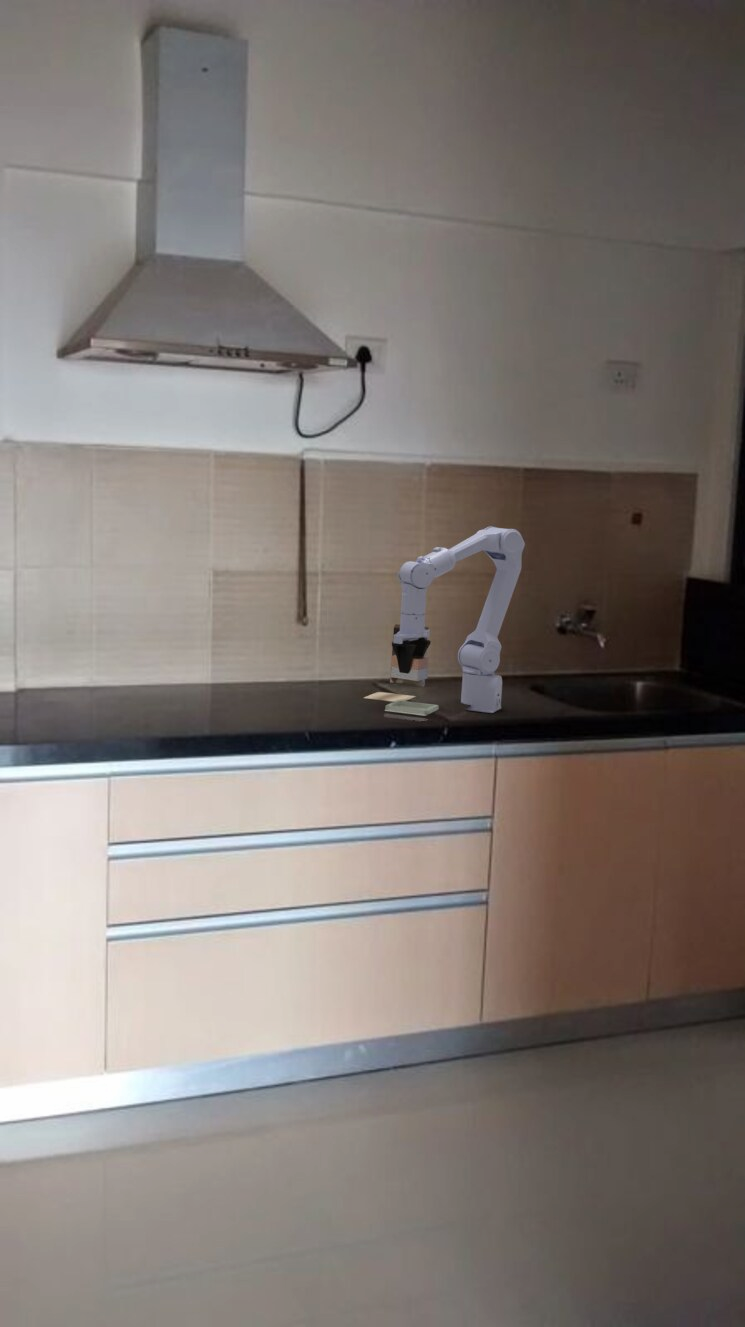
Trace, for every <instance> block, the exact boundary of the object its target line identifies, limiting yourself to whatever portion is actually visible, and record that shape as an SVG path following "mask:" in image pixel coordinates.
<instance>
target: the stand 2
mask: <svg viewBox="0 0 745 1327" xmlns="http://www.w3.org/2000/svg"><path fill="white" fill-rule="evenodd" d="M439 706H440V705H438V704H432V703H425V702H423V703H422V702H415V701H410V700H409V701H408V700H407V701H401V700H397V701H395V702H392V701H391V702H390V703H388V704H386V705H385V709H384V710H383V711H385V713H383V717H384V718H390V719H397V718H398V719H399V720H405V719H406V721H407V720H408V721H413V720H415V722H421V721H426V722H428V721H430V720H429V719H430V718H425V717H424V716H428V715H430V714H432V713H435V712H436V711H438V710H440V708H439ZM386 712H393V713H400V714H408V716H407V715H400V714H392V713H386ZM409 715H410V716H409ZM411 715H416V716H411ZM418 716H423V717H424V718H423V717H418ZM427 720H428V721H427Z"/></svg>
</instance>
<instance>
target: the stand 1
mask: <svg viewBox="0 0 745 1327" xmlns="http://www.w3.org/2000/svg"><path fill="white" fill-rule="evenodd" d="M414 698H417V696H415V695H407V694H399V693H392V692H383V691H376V692H374V693H372V694H369V695H367V696H365V697H363V699H370V700H376V701H377V700H378V701H384V702H391V703H392V702H395V701H397V700H401V701H408V700H409V701H410V700H411V699H414Z"/></svg>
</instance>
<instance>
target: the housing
mask: <svg viewBox="0 0 745 1327" xmlns="http://www.w3.org/2000/svg"><path fill="white" fill-rule="evenodd" d="M391 661H392V666H391V665H390V675H391V677H393V678H400V679H407V680H414V681H419V680H423V679H425V680H426V679H428V673H429V672H428V671H429V657H428V656H427V657H422V656H415V655H412V659H411V665H410V670H409V673H400V671H399V666H398V661H397V657H396V655H394V656H392V655H391Z"/></svg>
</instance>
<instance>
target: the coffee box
mask: <svg viewBox="0 0 745 1327" xmlns="http://www.w3.org/2000/svg"><path fill="white" fill-rule="evenodd" d="M424 630H430V629H429V626H425V628H424ZM399 631H400V623H399V624H395V623H394V627H393V636H392V638H393V637H394V635H395V634H397V633H398V632H399ZM425 640H429V638H425ZM391 647H392V646H391ZM427 654H428V649H427V650H426V653H425V655H424V657H428V656H427ZM394 655H396V654H395V651H394V649H393V647H392V648H391V657H392V656H394ZM391 666H392V660H391V663H390V667H391ZM389 683H390V684H391V683H392V684H398V685H399V684H400V685H408V686H415V687H425V685H426V679H423V680H419V681H414V680H407V679H400V678H393V677H391V674H390V679H389Z"/></svg>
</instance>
